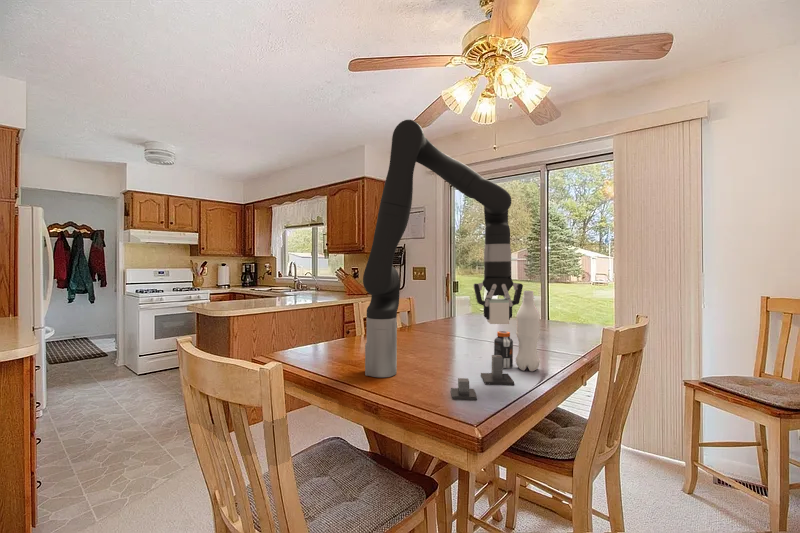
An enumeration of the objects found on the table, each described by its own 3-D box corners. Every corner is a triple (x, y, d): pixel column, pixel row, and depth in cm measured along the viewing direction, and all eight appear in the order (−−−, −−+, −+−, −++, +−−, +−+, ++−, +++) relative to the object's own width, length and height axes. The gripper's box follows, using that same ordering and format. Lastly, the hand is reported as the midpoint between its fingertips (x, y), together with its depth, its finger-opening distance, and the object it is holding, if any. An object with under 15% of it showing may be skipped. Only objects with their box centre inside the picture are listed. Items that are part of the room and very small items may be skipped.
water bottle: (514, 370, 118) (515, 291, 117) (516, 365, 124) (517, 289, 124) (539, 373, 115) (540, 292, 115) (539, 367, 122) (540, 290, 121)
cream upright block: (490, 324, 105) (490, 300, 105) (487, 321, 110) (487, 298, 110) (509, 324, 105) (508, 300, 105) (505, 321, 110) (505, 298, 110)
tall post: (485, 384, 105) (485, 359, 105) (480, 375, 113) (480, 352, 113) (514, 385, 104) (514, 360, 104) (507, 376, 112) (508, 353, 112)
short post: (452, 399, 93) (452, 383, 93) (450, 391, 99) (450, 376, 99) (476, 400, 93) (477, 384, 93) (473, 391, 99) (473, 376, 99)
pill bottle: (513, 369, 120) (513, 333, 120) (494, 368, 121) (494, 333, 121) (511, 364, 126) (512, 330, 125) (493, 363, 127) (493, 329, 127)
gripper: (473, 260, 104) (474, 321, 105) (526, 260, 103) (526, 321, 103) (470, 260, 112) (471, 317, 112) (519, 260, 111) (520, 317, 111)
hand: (497, 319), depth 108 cm, fingers closed on cream upright block, 5 cm apart
